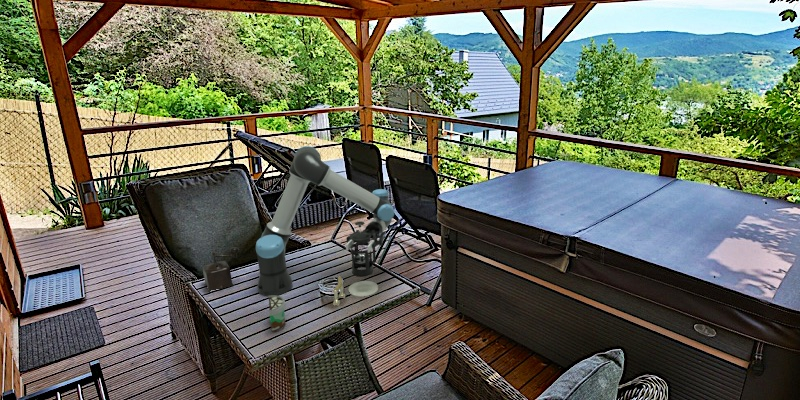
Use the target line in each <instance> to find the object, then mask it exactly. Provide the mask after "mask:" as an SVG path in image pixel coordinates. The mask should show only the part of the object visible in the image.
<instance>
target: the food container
mask: <svg viewBox="0 0 800 400" xmlns="http://www.w3.org/2000/svg"><path fill="white" fill-rule="evenodd" d="M267 297H268V306H269V307H268V308H269V309H268V314H269V321H270V328H271V332H272V333H274V332H278V331H280V330H281V329H283V328H284V327H285V325H286V319H285V318H286V317H285V309H286V306H287V304H286V301H285V300H284V298H283V297H282V296H280V295H271V296H267Z"/></svg>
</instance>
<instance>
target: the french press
mask: <svg viewBox="0 0 800 400" xmlns="http://www.w3.org/2000/svg"><path fill="white" fill-rule="evenodd" d="M365 224H366V223H365V222H364V221H357V222H356V221H355V223H354V226H358V228H359V231H360V232H357V233H354V232H353V233H354V234H353V233H351V234H352V235H351V234H350V235H351V236H350V235H349V236H350V239H351V240H354V241H355V243H354V244H353V245H352V246H351V248H350V251H351V273H352V275H353V276H355V277H358V278H363V277H365V278H366V277H368V276H371V275H373V274H374V265H373V264H374V263H377V261H376V258H377V257H376V247H375V248H373V249H372V250H371V251H370V252H368V249H365V250H362V249H363V248H362V246H366V247H367V246H368V245H369V244H370V243H371V239H370V238H371V234H369V233H367V232H362V231H361V227H362V226H364V225H365ZM359 246H360V250H359ZM353 248H354V249H353ZM362 268H364V269H362Z"/></svg>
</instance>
